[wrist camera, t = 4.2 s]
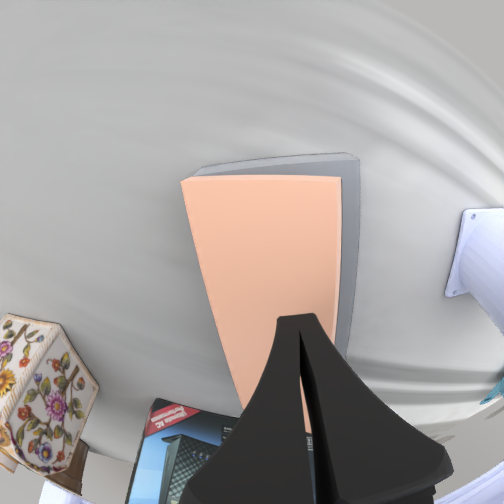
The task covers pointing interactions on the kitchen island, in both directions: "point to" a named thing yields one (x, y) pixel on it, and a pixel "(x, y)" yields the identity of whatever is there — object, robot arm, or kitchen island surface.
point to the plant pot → (72, 470)
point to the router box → (178, 451)
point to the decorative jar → (41, 396)
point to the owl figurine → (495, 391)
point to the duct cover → (265, 260)
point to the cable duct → (350, 199)
